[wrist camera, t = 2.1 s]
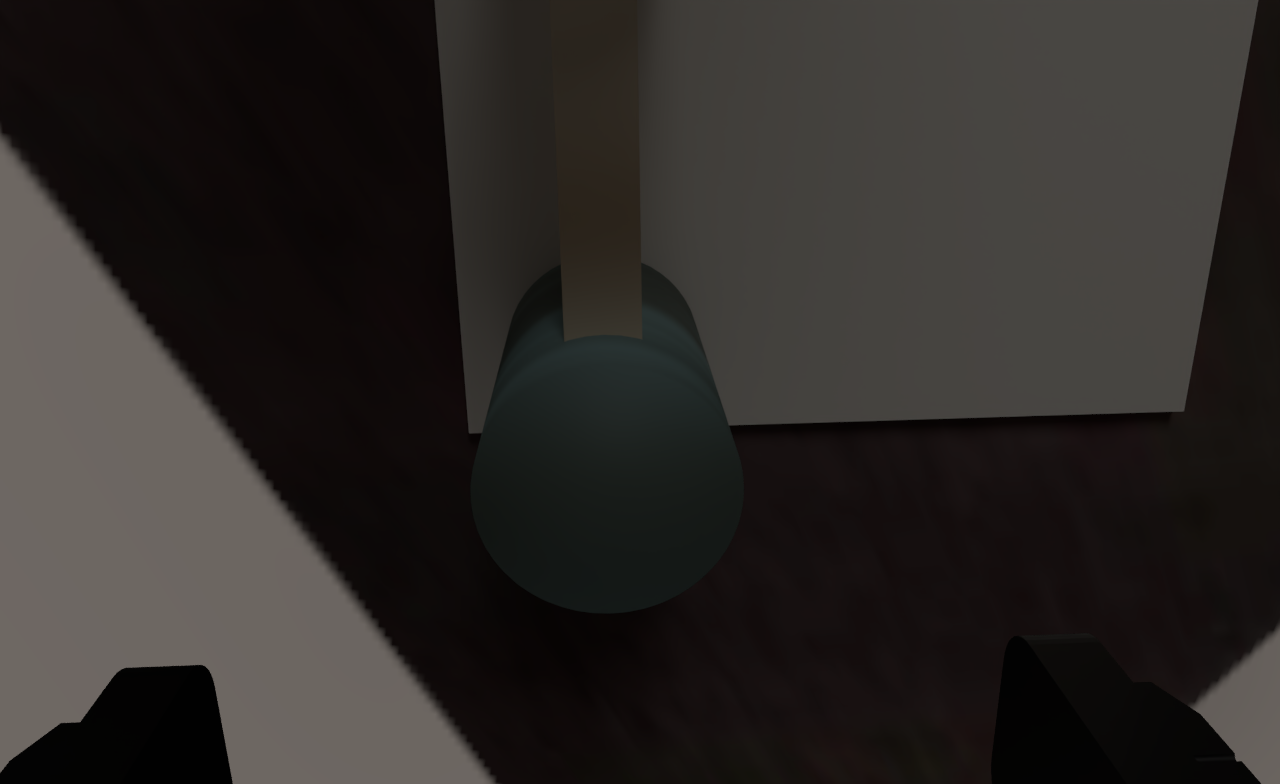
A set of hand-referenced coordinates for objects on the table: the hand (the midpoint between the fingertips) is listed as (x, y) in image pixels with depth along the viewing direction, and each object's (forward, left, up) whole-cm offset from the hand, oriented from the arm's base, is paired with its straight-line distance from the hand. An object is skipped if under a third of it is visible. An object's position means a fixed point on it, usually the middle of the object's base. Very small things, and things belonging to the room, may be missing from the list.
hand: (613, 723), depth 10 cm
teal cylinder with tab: (-3, 0, -12) cm, 12 cm away
